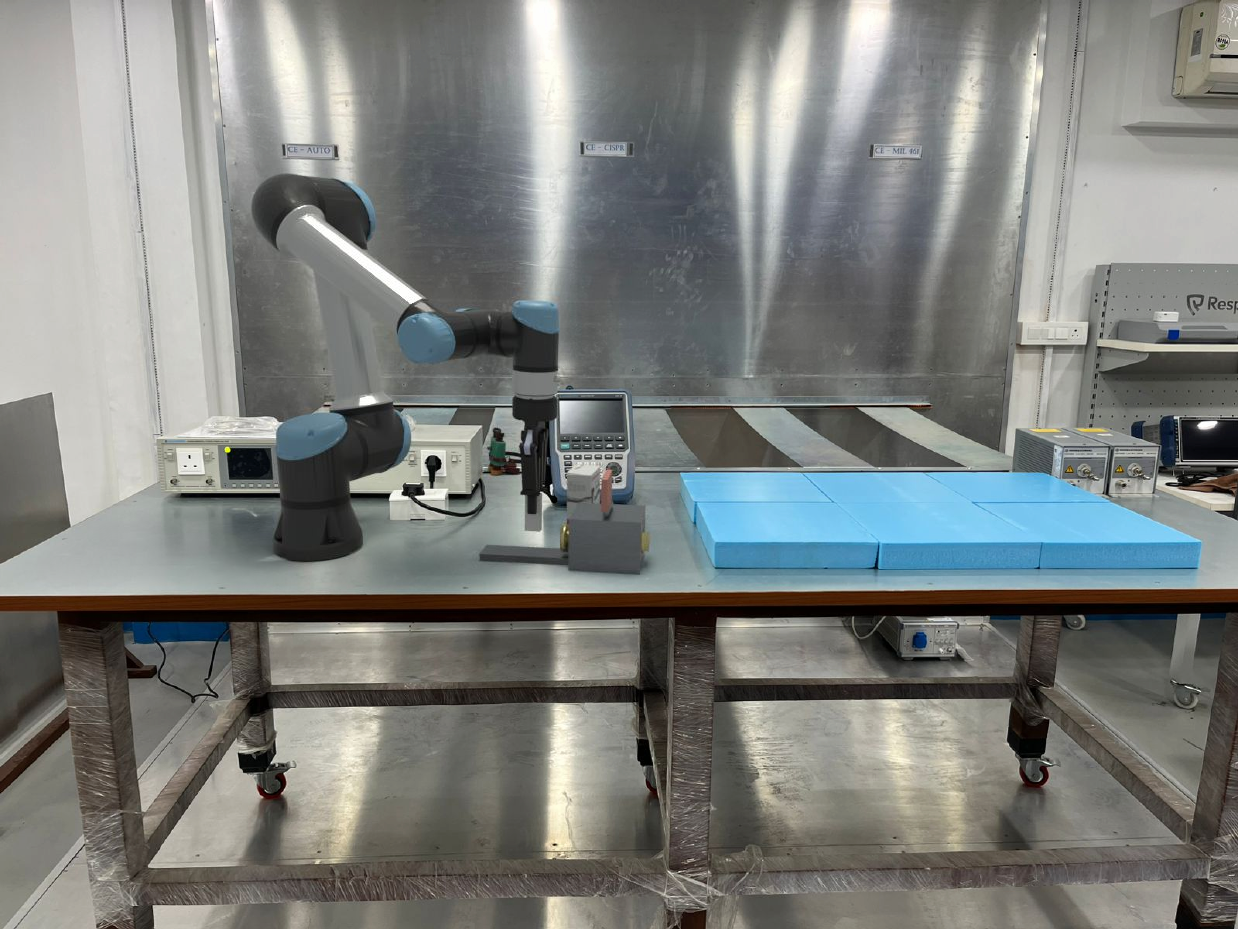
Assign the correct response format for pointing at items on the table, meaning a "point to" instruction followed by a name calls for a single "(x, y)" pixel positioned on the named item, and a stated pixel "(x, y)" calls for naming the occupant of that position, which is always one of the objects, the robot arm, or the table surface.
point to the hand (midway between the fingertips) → (533, 529)
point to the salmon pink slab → (606, 493)
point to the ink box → (582, 486)
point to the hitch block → (588, 542)
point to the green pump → (501, 455)
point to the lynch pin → (565, 539)
